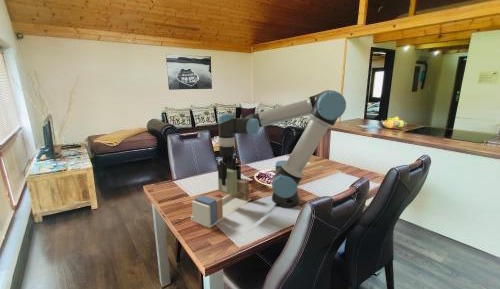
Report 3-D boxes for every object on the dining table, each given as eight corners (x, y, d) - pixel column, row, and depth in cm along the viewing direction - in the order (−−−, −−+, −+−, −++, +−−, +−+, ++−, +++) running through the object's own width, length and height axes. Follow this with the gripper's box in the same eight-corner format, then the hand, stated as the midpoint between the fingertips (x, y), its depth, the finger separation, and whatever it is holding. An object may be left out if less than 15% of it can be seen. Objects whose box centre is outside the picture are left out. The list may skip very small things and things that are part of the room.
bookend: (248, 198, 141) (248, 182, 139) (245, 200, 139) (245, 183, 136) (235, 195, 146) (235, 178, 144) (232, 197, 143) (232, 180, 141)
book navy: (217, 221, 118) (216, 199, 116) (210, 225, 115) (209, 203, 112) (202, 216, 123) (201, 195, 121) (196, 220, 120) (194, 198, 117)
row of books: (251, 201, 141) (251, 182, 138) (210, 230, 113) (208, 207, 111) (234, 196, 147) (233, 178, 145) (191, 222, 120) (189, 200, 117)
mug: (234, 185, 164) (234, 171, 161) (224, 179, 173) (224, 167, 170) (246, 181, 169) (246, 168, 167) (235, 176, 178) (235, 164, 176)
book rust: (222, 216, 122) (222, 198, 120) (217, 220, 119) (216, 201, 117) (210, 212, 127) (209, 194, 124) (204, 215, 123) (203, 197, 121)
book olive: (237, 192, 130) (236, 170, 127) (232, 195, 127) (232, 173, 124) (223, 188, 135) (222, 167, 132) (218, 191, 132) (217, 169, 129)
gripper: (231, 141, 134) (232, 182, 139) (209, 147, 120) (211, 193, 125) (242, 142, 130) (243, 185, 135) (221, 149, 116) (223, 197, 121)
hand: (227, 189), depth 130 cm, fingers closed on book olive, 4 cm apart
